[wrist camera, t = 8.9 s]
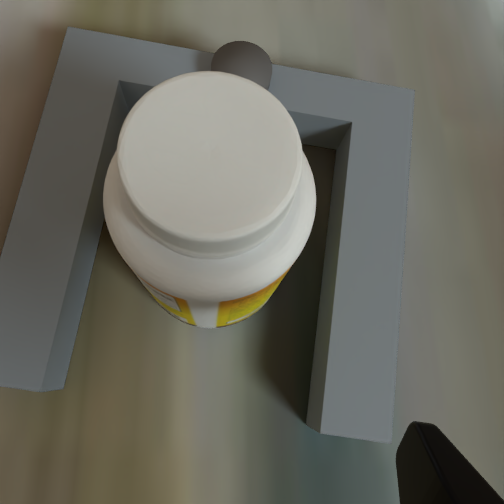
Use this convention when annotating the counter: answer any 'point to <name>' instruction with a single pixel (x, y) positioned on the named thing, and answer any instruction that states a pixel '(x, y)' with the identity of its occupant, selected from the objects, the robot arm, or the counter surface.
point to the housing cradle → (92, 216)
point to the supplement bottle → (209, 196)
